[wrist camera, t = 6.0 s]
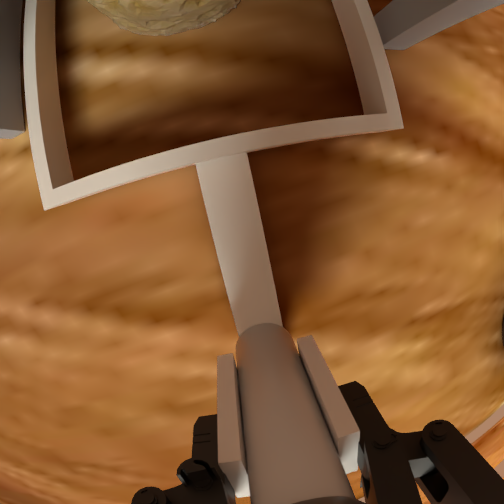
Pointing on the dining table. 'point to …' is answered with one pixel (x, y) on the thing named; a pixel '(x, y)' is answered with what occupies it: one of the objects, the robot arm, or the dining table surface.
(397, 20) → the tunnel
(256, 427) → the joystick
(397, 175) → the dining table surface
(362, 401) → the robot arm
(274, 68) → the dining table surface
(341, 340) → the dining table surface
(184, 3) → the rock
